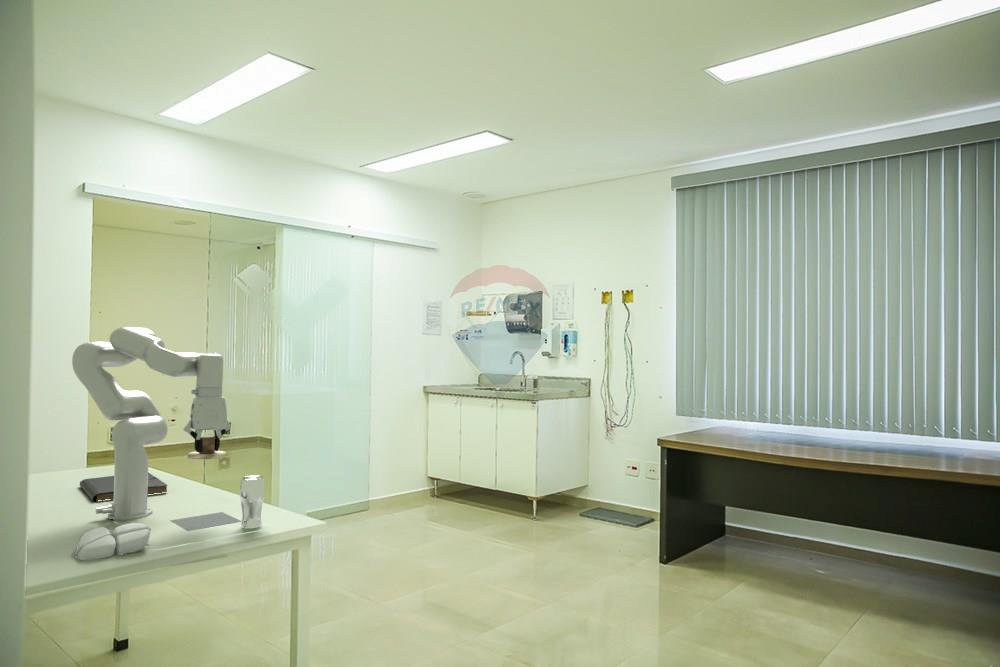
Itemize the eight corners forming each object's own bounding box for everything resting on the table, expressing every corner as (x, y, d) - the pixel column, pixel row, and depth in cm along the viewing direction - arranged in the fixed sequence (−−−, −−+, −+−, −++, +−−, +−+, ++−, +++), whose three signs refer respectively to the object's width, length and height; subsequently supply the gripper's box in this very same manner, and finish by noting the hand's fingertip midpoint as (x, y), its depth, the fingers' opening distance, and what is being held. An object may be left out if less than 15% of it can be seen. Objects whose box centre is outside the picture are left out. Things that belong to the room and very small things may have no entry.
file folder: (168, 484, 240) (92, 493, 224) (168, 495, 239) (92, 505, 224) (148, 471, 265) (79, 478, 249) (148, 481, 265) (79, 489, 249)
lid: (195, 460, 192) (195, 440, 193) (182, 455, 200) (182, 436, 200) (231, 456, 200) (232, 437, 200) (217, 452, 208) (218, 434, 208)
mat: (188, 532, 188) (188, 530, 188) (169, 521, 199) (169, 520, 199) (241, 522, 199) (241, 521, 199) (221, 513, 211) (221, 512, 211)
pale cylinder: (243, 524, 197) (244, 475, 198) (266, 523, 198) (267, 475, 199) (235, 530, 191) (237, 479, 191) (259, 530, 191) (261, 479, 192)
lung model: (76, 564, 159) (68, 549, 179) (153, 553, 170) (138, 539, 189) (77, 537, 160) (69, 524, 180) (154, 527, 170) (139, 517, 190)
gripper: (185, 394, 192) (182, 455, 192) (240, 393, 204) (238, 450, 203) (176, 393, 198) (174, 452, 197) (231, 391, 209) (229, 447, 209)
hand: (207, 450), depth 200 cm, fingers closed on lid, 4 cm apart
